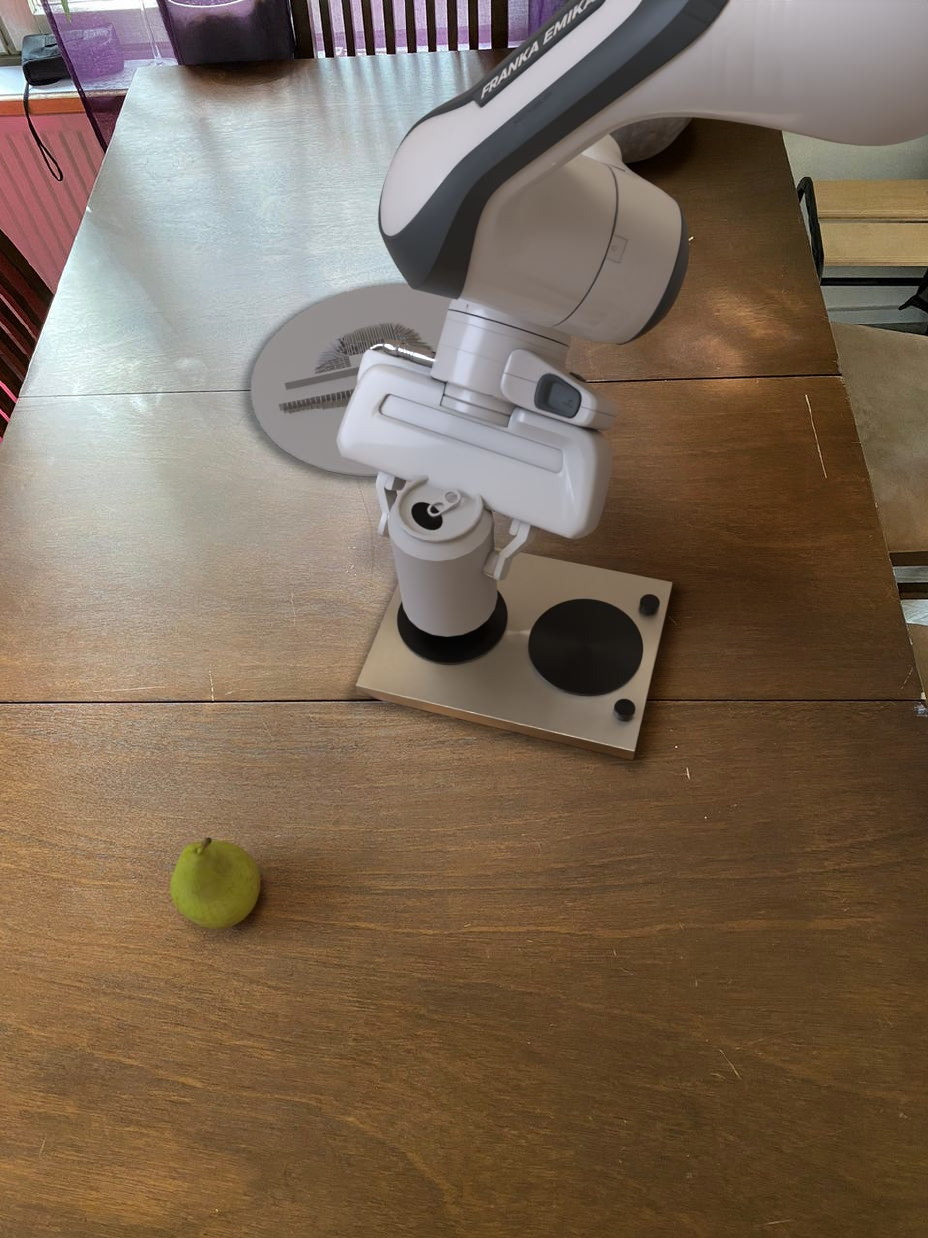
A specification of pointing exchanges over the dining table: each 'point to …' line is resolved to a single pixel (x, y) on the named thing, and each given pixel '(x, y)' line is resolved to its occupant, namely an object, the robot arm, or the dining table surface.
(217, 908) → the fruit
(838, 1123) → the dining table surface
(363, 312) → the plate
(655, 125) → the bowl
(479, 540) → the can
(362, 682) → the hob
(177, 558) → the dining table surface
